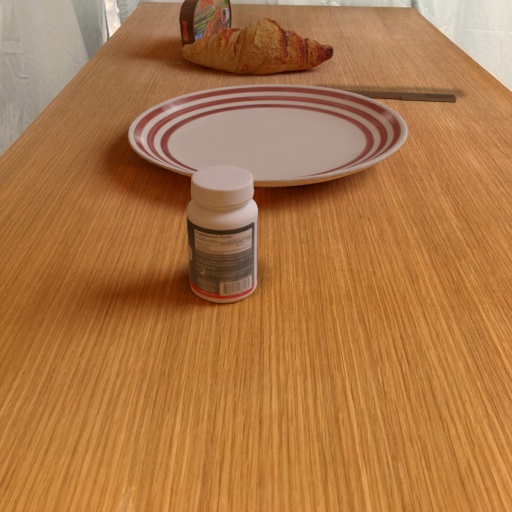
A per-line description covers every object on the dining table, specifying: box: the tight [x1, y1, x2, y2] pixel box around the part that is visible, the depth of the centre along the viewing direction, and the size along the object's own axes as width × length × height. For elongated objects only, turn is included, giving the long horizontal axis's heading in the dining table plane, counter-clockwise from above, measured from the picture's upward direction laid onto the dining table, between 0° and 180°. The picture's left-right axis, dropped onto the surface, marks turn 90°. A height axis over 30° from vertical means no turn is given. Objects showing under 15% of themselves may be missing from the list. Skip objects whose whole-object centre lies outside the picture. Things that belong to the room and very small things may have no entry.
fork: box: [342, 89, 457, 103], centre depth 86 cm, size 17×2×1 cm, turn 83°
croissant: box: [181, 17, 335, 76], centre depth 96 cm, size 21×10×8 cm, turn 85°
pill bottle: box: [186, 166, 259, 304], centre depth 47 cm, size 5×5×8 cm
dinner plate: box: [127, 83, 409, 188], centre depth 69 cm, size 28×27×3 cm
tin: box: [178, 0, 233, 48], centre depth 104 cm, size 15×3×8 cm, turn 161°
